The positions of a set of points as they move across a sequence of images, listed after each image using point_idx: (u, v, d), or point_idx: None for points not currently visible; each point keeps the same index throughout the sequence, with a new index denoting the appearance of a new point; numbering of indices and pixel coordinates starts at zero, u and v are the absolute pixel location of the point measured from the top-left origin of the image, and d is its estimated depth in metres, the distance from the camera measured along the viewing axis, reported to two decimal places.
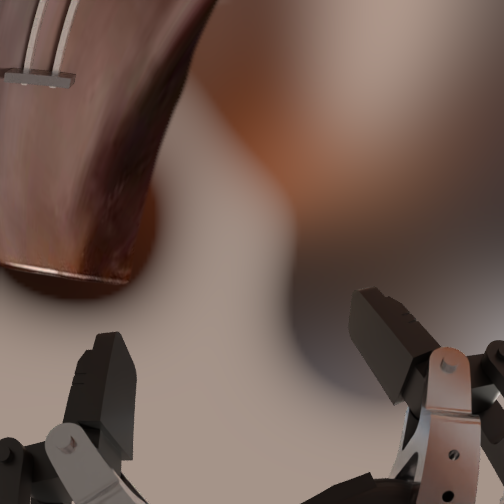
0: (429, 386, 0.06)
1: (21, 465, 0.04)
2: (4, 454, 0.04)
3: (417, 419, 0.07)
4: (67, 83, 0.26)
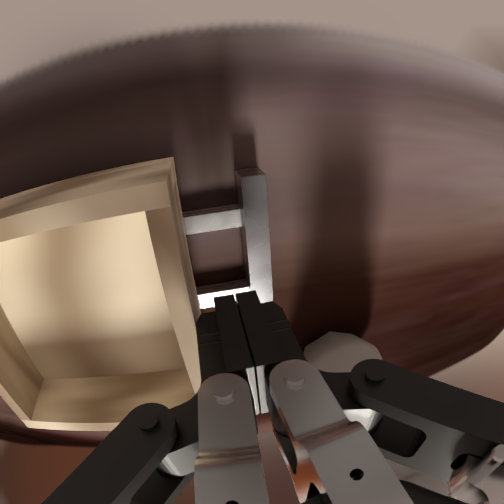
0: (285, 413, 0.06)
1: (172, 429, 0.06)
2: (147, 421, 0.06)
3: None
4: None
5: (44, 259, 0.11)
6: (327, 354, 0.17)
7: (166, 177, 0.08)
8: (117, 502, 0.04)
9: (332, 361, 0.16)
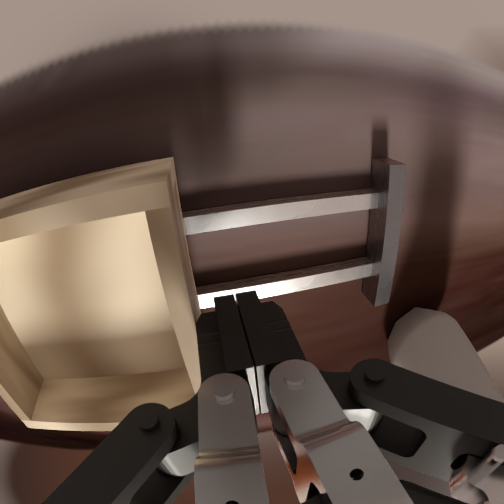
0: (285, 413, 0.06)
1: (172, 429, 0.06)
2: (147, 421, 0.06)
3: None
4: None
5: (44, 259, 0.11)
6: (423, 324, 0.18)
7: (166, 177, 0.08)
8: (117, 502, 0.04)
9: (428, 329, 0.17)
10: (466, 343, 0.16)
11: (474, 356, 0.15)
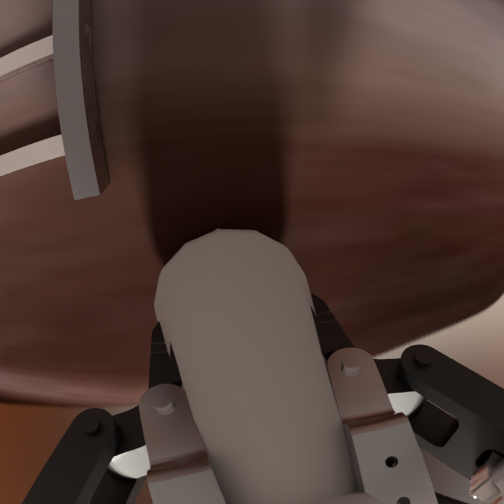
0: (337, 396, 0.06)
1: (112, 435, 0.06)
2: (90, 426, 0.05)
3: None
4: None
5: None
6: (189, 244, 0.10)
7: None
8: None
9: (192, 252, 0.10)
10: (272, 285, 0.09)
11: (280, 315, 0.08)
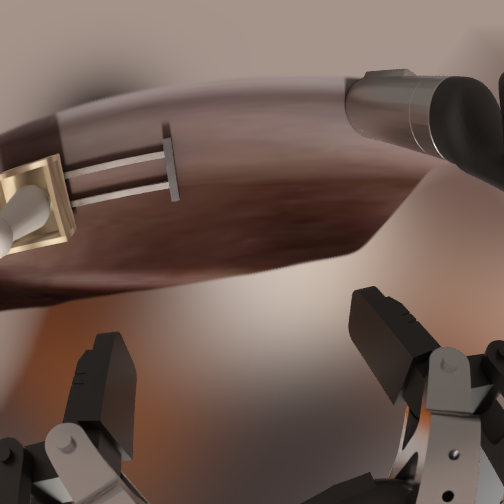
0: (429, 386, 0.06)
1: (21, 465, 0.04)
2: (4, 454, 0.04)
3: (417, 419, 0.07)
4: None
5: None
6: None
7: (47, 158, 0.29)
8: None
9: (16, 191, 0.29)
10: (22, 195, 0.28)
11: (18, 199, 0.27)
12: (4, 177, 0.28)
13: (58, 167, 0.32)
